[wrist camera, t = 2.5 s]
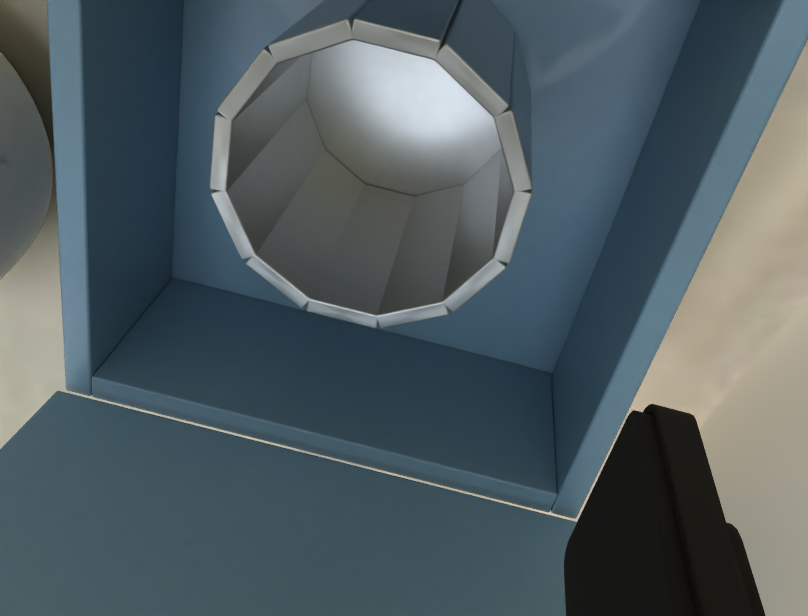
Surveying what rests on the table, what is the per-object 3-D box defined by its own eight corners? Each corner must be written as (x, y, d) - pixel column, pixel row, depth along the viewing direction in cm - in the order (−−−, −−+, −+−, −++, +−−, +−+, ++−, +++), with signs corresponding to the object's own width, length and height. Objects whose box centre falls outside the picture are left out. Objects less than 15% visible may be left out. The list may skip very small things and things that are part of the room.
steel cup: (316, -59, 21) (223, -15, 14) (558, 1, 21) (572, 73, 14) (286, 170, 24) (201, 285, 18) (492, 221, 24) (480, 356, 18)
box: (176, -222, 20) (32, -248, 14) (756, -78, 20) (850, -47, 14) (158, 279, 28) (64, 391, 22) (566, 381, 28) (576, 520, 22)
